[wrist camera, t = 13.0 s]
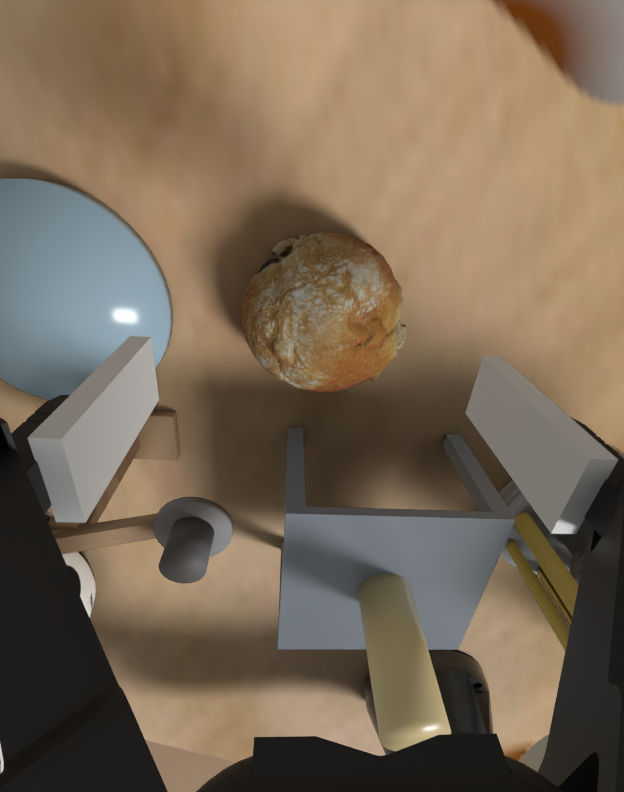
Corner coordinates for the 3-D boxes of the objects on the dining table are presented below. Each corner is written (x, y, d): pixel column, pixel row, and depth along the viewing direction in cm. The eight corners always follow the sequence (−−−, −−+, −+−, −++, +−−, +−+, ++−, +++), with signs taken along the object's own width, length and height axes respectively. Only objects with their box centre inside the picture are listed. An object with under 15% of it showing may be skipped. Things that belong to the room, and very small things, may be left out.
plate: (161, 189, 23) (154, 189, 22) (181, 400, 29) (177, 408, 28) (-99, 167, 22) (-119, 167, 21) (-17, 391, 28) (-29, 399, 27)
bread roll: (336, 210, 27) (300, 169, 20) (441, 317, 26) (446, 317, 19) (247, 315, 30) (186, 315, 23) (338, 412, 30) (308, 445, 22)
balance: (248, 412, 30) (220, 560, 19) (249, 458, 32) (223, 616, 21) (1, 401, 29) (-197, 552, 17) (18, 450, 31) (-149, 614, 19)
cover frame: (460, 434, 32) (606, 659, 17) (424, 552, 39) (505, 788, 24) (287, 427, 31) (281, 660, 16) (281, 549, 38) (272, 794, 23)
